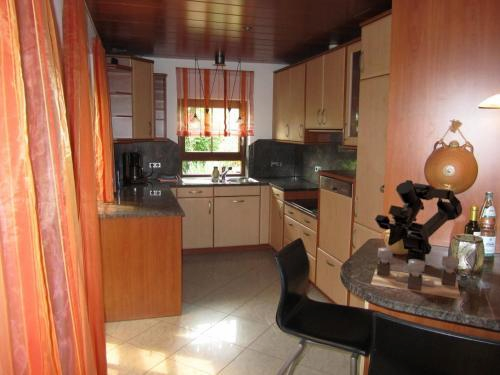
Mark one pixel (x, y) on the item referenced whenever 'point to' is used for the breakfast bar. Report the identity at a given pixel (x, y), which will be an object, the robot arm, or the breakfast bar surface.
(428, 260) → the breakfast bar surface
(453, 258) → the button
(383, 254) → the button
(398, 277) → the pattern card
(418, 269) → the far button
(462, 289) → the breakfast bar surface
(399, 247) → the sculpture
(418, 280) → the button panel
